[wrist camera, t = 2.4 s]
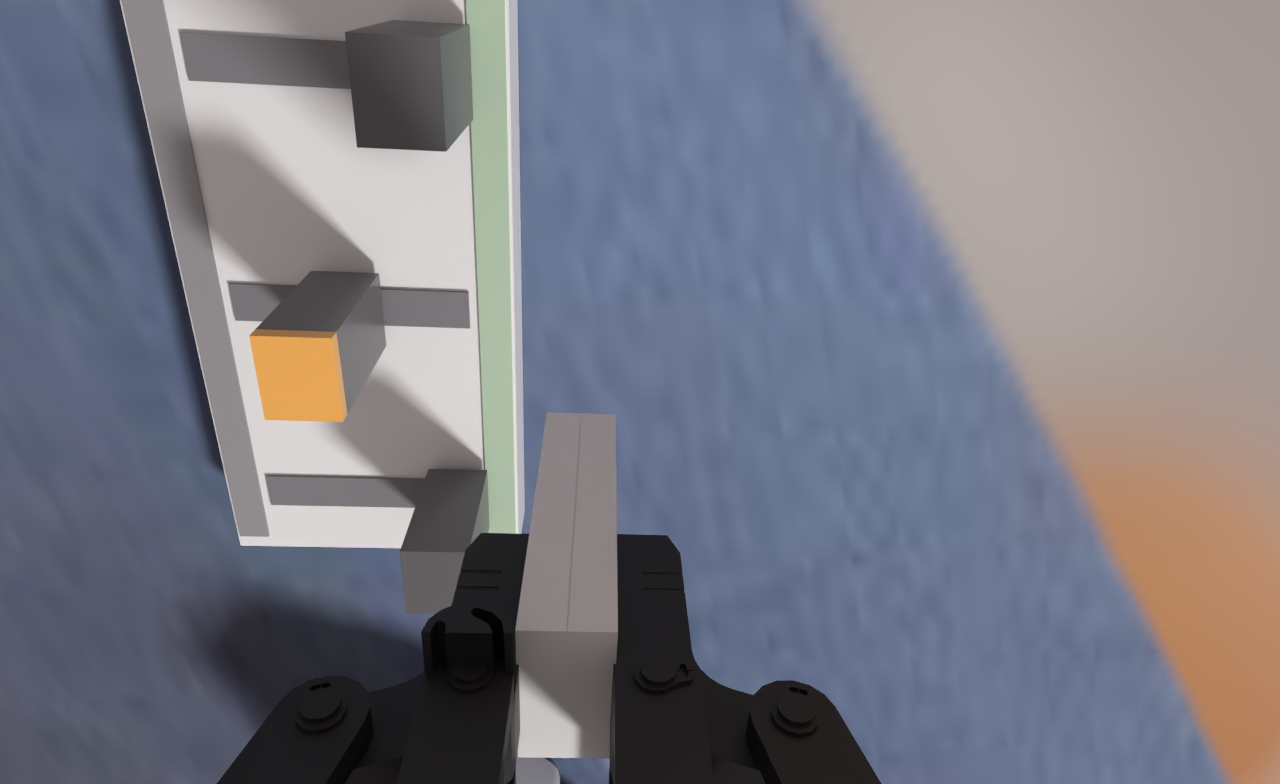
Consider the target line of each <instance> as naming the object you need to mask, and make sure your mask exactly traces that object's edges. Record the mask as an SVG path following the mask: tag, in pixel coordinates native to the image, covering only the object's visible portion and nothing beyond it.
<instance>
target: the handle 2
mask: <svg viewBox="0 0 1280 784" xmlns="http://www.w3.org/2000/svg"><path fill="white" fill-rule="evenodd" d="M488 531H489V501H488V476H487V470H457V469H428V471H427V474H426V477H425V480H424V483H423V486H422V489H421V492H420V495H419V497H418V500H417V503H416V506H415V509H414V512H413V515H412V518H411V521H410V524H409V526H408V529H407V532H406V535H405V538H404V541H403V544H402V547H401V550H400V557H401V567H402V576H403V585H404V595H405V604H406V613H438V612H439V611H440V610H442V609H444V608H447V607H449V606H452V602H453V598H454V594H455V590H456V586H457V582H458V578H459V574H460V570H461V566H462V562H463V558H464V554H465V550H466V549H467V548H468V547H469V546H470V544H471V543H472V542H473V541H474V540H475V539H476V538H477V537H478V536H479V534H480V533H488Z"/></svg>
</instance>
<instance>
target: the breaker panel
mask: <svg viewBox="0 0 1280 784" xmlns="http://www.w3.org/2000/svg"><path fill="white" fill-rule="evenodd" d="M120 4H121V8H122V13H123V17H124V22H125V26H126V31H127V35H128V40H129V44H130V49H131V53H132V58H133V62H134V67H135V71H136V76H137V80H138V85H139V89H140V94H141V98H142V103H143V107H144V112H145V116H146V121H147V125H148V130H149V134H150V139H151V143H152V148H153V152H154V157H155V161H156V166H157V170H158V175H159V179H160V184H161V189H162V193H163V198H164V202H165V207H166V211H167V216H168V220H169V225H170V229H171V234H172V238H173V243H174V247H175V252H176V256H177V261H178V265H179V270H180V274H181V279H182V283H183V288H184V292H185V297H186V301H187V306H188V310H189V315H190V319H191V324H192V328H193V333H194V337H195V342H196V346H197V351H198V355H199V360H200V364H201V369H202V373H203V378H204V382H205V387H206V391H207V396H208V400H209V405H210V409H211V414H212V418H213V423H214V427H215V432H216V436H217V441H218V445H219V450H220V454H221V459H222V463H223V468H224V472H225V477H226V481H227V486H228V490H229V495H230V499H231V504H232V508H233V513H234V517H235V522H236V526H237V531H238V535H239V540H240V544H241V546H299V547H360V548H401V547H402V544H403V541H404V538H405V535H406V532H407V529H408V526H409V524H410V521H411V518H412V515H413V512H414V509H415V506H416V503H417V500H418V497H419V495H420V492H421V489H422V486H423V483H424V480H425V477H426V474H427V471H428V469H457V470H487V476H488V501H489V531H488V533H511V534H521V532H522V525H523V518H524V511H525V501H524V431H523V361H522V290H521V220H520V150H519V80H518V10H517V0H120ZM390 20H401V21H419V22H436V23H454V24H470V48H471V73H472V98H473V120H472V122H471V123H470V124H469V125H468V126H467V128H466V129H465V130H464V131H463V132H462V133H461V135H460V136H459V137H458V138H457V139H456V141H455V142H454V143H453V144H452V145H451V147H450V148H449V149H448V150H447V151H446V152H442V151H421V150H400V149H379V148H358V147H357V143H356V133H355V124H354V114H353V105H352V96H351V86H350V77H349V67H348V58H347V48H346V39H345V32H347V31H351V30H355V29H359V28H363V27H367V26H371V25H374V24H378V23H382V22H386V21H390ZM310 271H332V272H358V273H379V278H380V288H381V298H382V307H383V317H384V327H385V337H386V347H385V349H384V351H383V353H382V354H381V356H380V358H379V360H378V361H377V363H376V365H375V367H374V368H373V370H372V372H371V374H370V375H369V377H368V379H367V381H366V383H365V384H364V386H363V388H362V390H361V391H360V393H359V395H358V397H357V398H356V400H355V402H354V404H353V405H352V407H351V409H350V411H349V412H348V414H347V416H346V418H345V420H344V421H343V422H324V421H286V420H265V418H264V413H263V407H262V402H261V397H260V391H259V386H258V381H257V375H256V370H255V365H254V359H253V354H252V349H251V343H250V338H249V335H250V334H251V333H252V332H253V331H254V330H255V329H256V328H257V327H258V326H259V325H260V324H261V323H262V322H263V321H264V320H265V318H266V317H267V316H268V315H269V314H270V313H271V312H272V311H273V310H274V309H275V308H276V307H277V306H278V305H279V304H280V303H281V302H282V301H283V300H284V299H285V298H286V297H287V295H288V294H289V293H290V292H291V291H292V290H293V289H294V288H295V287H296V286H297V285H298V284H299V283H300V282H301V281H302V280H303V279H304V278H305V277H306V276H307V275H308V273H309V272H310Z"/></svg>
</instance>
